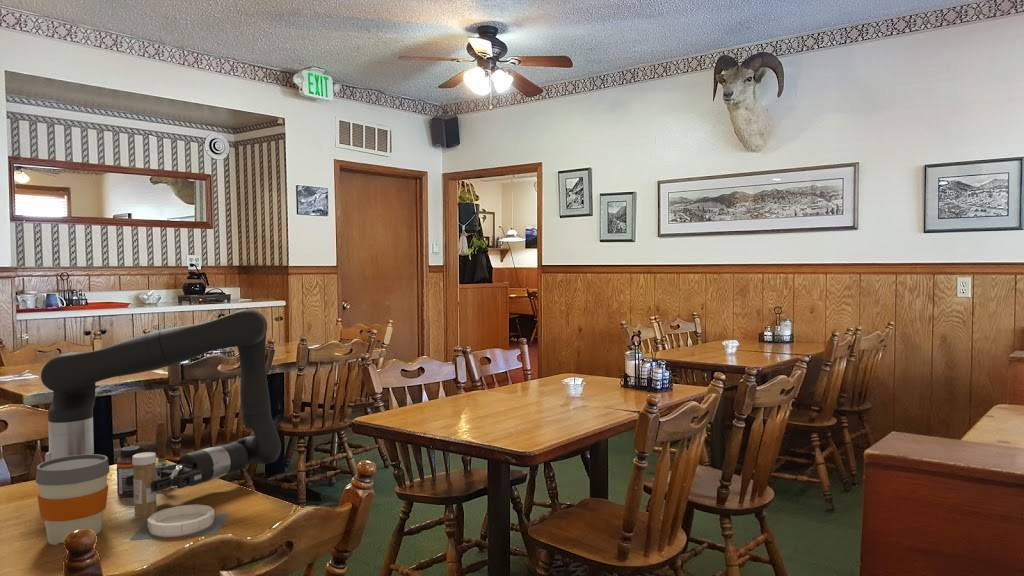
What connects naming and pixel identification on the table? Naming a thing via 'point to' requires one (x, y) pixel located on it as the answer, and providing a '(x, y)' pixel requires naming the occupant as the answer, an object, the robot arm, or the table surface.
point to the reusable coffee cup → (72, 494)
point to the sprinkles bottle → (144, 483)
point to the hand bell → (161, 445)
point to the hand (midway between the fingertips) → (139, 484)
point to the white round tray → (180, 520)
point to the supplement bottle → (126, 471)
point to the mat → (213, 529)
